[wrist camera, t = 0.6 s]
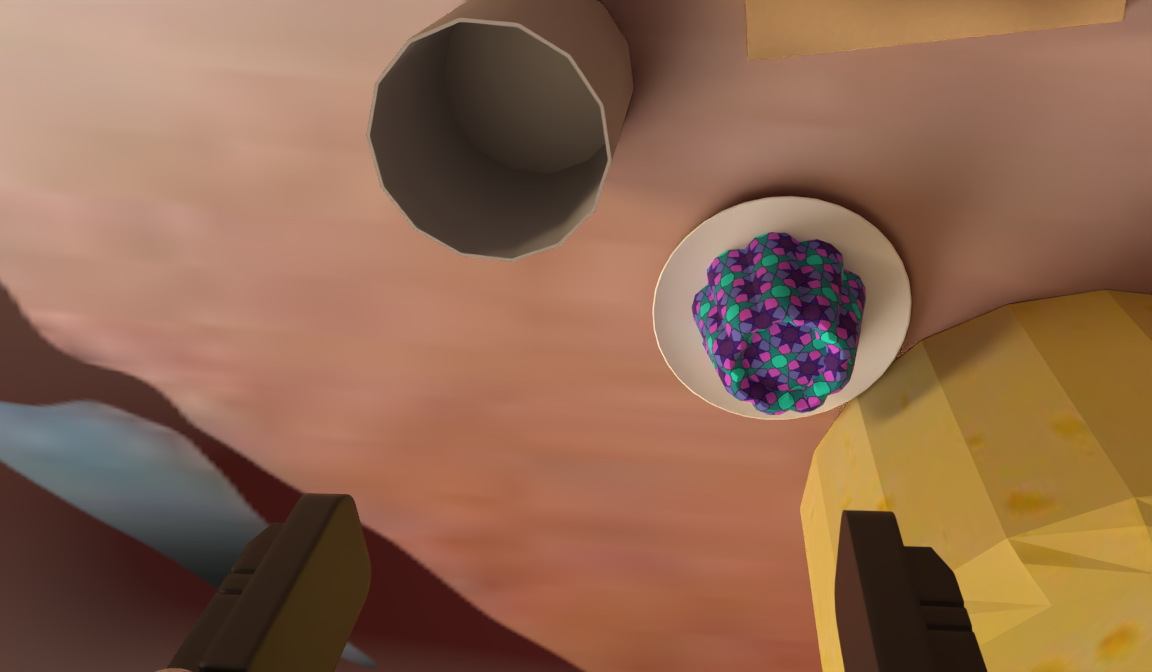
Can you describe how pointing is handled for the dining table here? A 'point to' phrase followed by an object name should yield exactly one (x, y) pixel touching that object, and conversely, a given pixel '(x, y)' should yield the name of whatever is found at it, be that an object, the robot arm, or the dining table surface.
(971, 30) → the board
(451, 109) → the cup
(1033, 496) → the cheese
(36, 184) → the dining table surface
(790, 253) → the pudding
